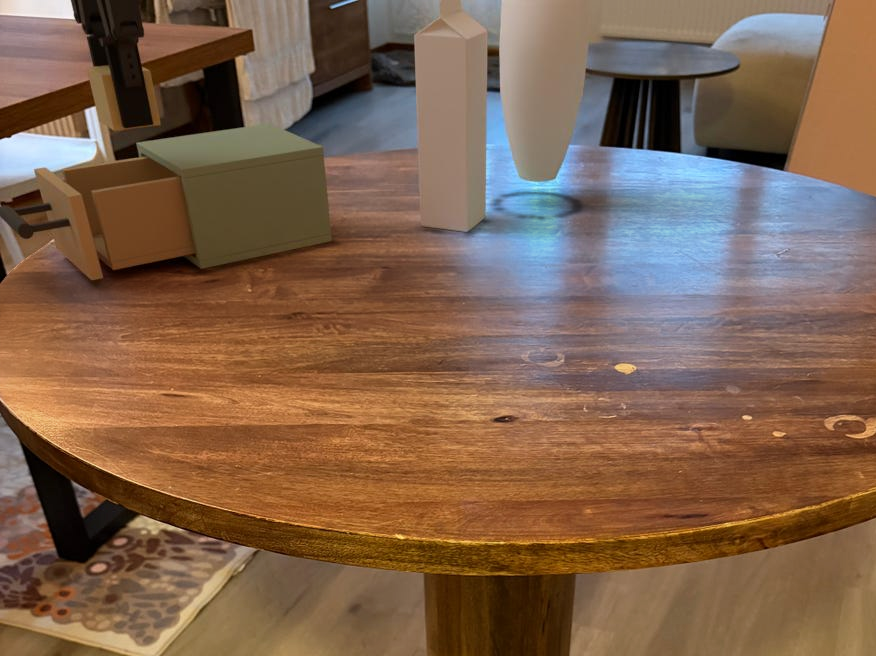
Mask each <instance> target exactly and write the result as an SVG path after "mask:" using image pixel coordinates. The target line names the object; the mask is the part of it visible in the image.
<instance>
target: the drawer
mask: <svg viewBox="0 0 876 656" xmlns="http://www.w3.org/2000/svg"><path fill="white" fill-rule="evenodd" d="M33 170H34V171H33V172H34V175H35V179H36V182H37V185H38V189H39V193H40V196H41V199H42V203H40V204H35V205H33V204H32V205H28V206H27V205H26V206H22V207H16V208H12V207H11V206H10V205H6V204H4V205H0V218H1V219H2V221H4V222H5V223H6V224H7V225H8V226H9V227H10V228H11V229H12V230H13V231H14V232H15V233H16V234H18V236H20V238H22V239H24V240H28V239H31V238H32V237H33V236H34V234H35V233H38V232H43V231H50V230H51V235H52V237H53V241H54V244H55V248H56V249H57V251H59V253H61V254H62V255H63V256H64V257H65V258H67V260H69V261H70V263H72V264H73V265H74V266H75V267H76V268H77V269H79V270H80V272H82V273H83V274H84V275H85V276H86V277H87V278H88V279H89V280H90V281H95V280H96V281H97V280H100V279H104V275H103V272H102V268H101V263H100V260H101V261H102V262H103V263H104V264H106V266H108V267H109V268H110V269H111V270H113V271H116V270H121V269H126V268H131V267H135V266H139V265H145V264H151V263H155V262H161V261H164V260H169V259H174V258H180V257H184V256H185V255H190V254H195V247H194V242H193V237H192V232H191V227H190V221H189V216H188V211H187V206H186V201H185V195H184V190H183V185H182V180H181V176H180V175H178V174H176V173H175V172H173V171H171V170H169V169H168V168H166V167H164V166H163V165H161V164H159V163H158V162H156V161H154V160H153V159H151V158H149V157H148V156H145V157H139V156H138V157H133V158H126V159H118V160H111V161H105V162H100V163H93V164H85V165H79V166H74V167H66V168H61V172H62V176H63V179H61V178H60V177H59V176H57V175H56V174H55V173H54V172H52V171H51V170H50V169H49V168H47V167H41V168H40V167H38V168H34V169H33ZM44 212H45V214H46V217H47V220H48V221H43V222H38V223H32V224H30V223H28V222H27V221H26V220H25V219H24V218H23V217H22V216H28V215H32V214H38V213H44Z"/></svg>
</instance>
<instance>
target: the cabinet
mask: <svg viewBox="0 0 876 656" xmlns="http://www.w3.org/2000/svg"><path fill="white" fill-rule="evenodd" d="M135 144H136V149H137V152H138V158H139V157H145V156H148V157H149V158H151V159H153V160H154V161H156V162H158V163H159V164H161V165H163V166H164V167H166V168H168V169H169V170H171V171H173V172H175V173H176V174H178V175H180V176H181V180H182V185H183V190H184V195H185V201H186V206H187V211H188V216H189V221H190V227H191V232H192V237H193V242H194V247H195V254H190V255H185V256H183V257H184V258H185V259H187V261H189V262H191V263H192V264H193V265H195V266H196V267H198V268H199V269H200V270H204V269H208V268H214V267H218V266H222V265H227V264H231V263H236V262H241V261H246V260H251V259H254V258H259V257H265V256H269V255H274V254H278V253H283V252H288V251H292V250H298V249H301V248H302V249H303V248H307V247H311V246H317V245H320V244H326V243H330V242H332V241H333V238H332V237H333V236H332V227H331V217H330V205H329V198H328V197H329V195H328V186H327V185H328V184H327V176H326V175H327V174H326V165H325V154H324V153H325V152H324V146H322V145H320V144H317V143H315V142H312V141H311V140H308V139H306V138H304V137H301V136H299V135H297V134H294V133H292V132H290V131H288V130H285V129H283V128H280V127H278V126H277V125H274V124H271V123H264V124H257V125H249V126H244V127H237V128H229V129H222V130H215V131H208V132H202V133H194V134H188V135H187V134H186V135H180V136H174V137H167V138H159V139H154V140H153V139H152V140H144V141H139V142H136V143H135Z"/></svg>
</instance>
